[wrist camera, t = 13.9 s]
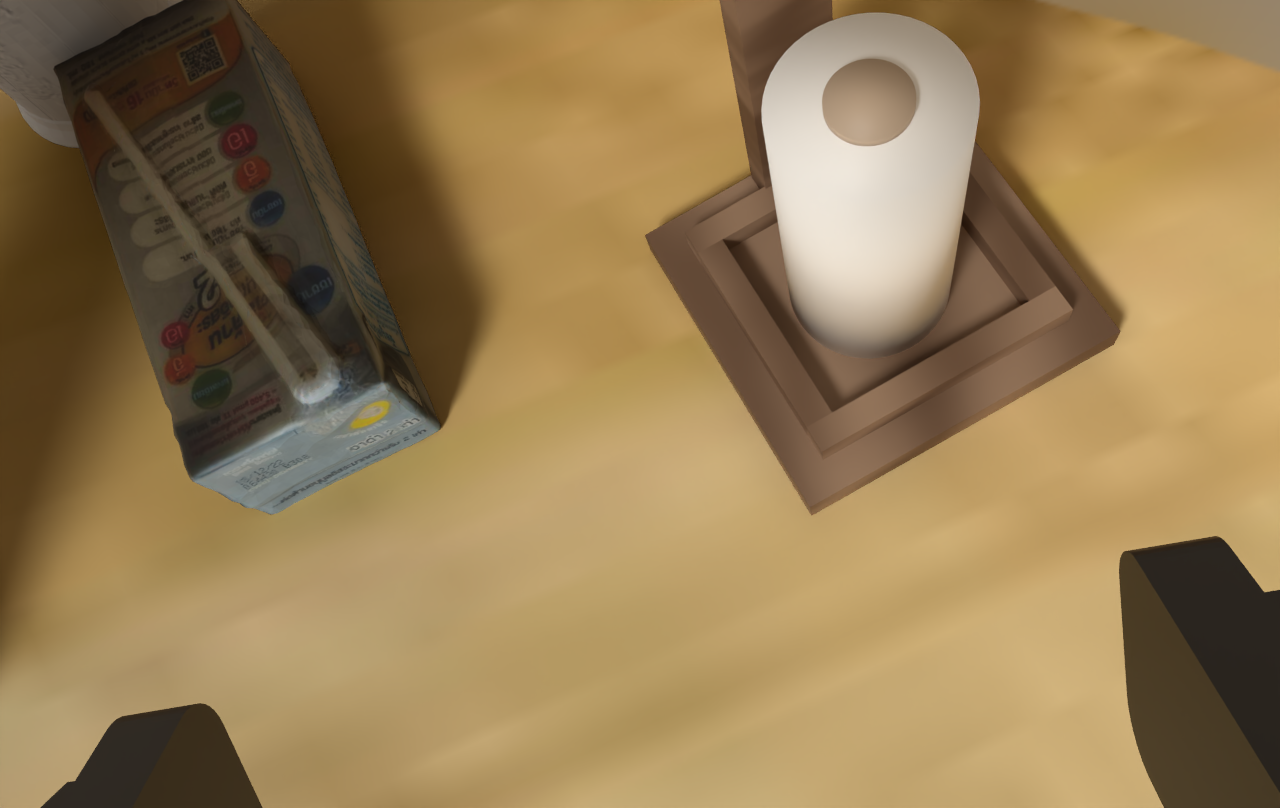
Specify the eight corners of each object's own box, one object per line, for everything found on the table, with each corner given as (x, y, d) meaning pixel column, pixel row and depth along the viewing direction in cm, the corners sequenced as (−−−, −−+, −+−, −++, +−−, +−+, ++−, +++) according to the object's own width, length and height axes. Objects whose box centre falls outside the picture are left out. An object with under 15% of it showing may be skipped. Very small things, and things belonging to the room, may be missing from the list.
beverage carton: (262, 530, 46) (167, 485, 40) (129, 142, 53) (32, 53, 47) (451, 436, 46) (386, 376, 40) (293, 59, 53) (217, -42, 47)
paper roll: (837, 386, 42) (826, 235, 31) (761, 258, 44) (723, 71, 33) (981, 309, 42) (1024, 129, 31) (898, 184, 44) (909, -30, 32)
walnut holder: (811, 515, 42) (786, 379, 29) (650, 249, 46) (565, 27, 33) (1113, 344, 42) (1224, 132, 29) (924, 94, 46) (946, -189, 33)
